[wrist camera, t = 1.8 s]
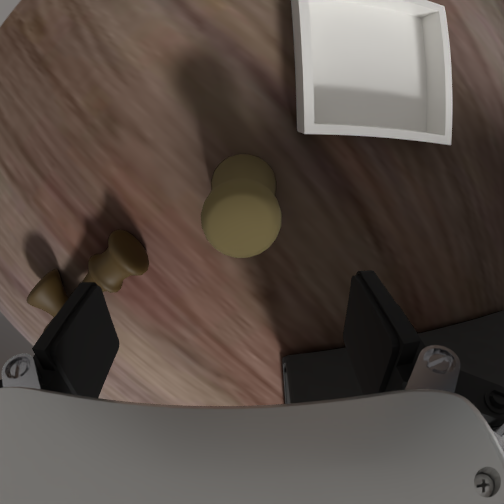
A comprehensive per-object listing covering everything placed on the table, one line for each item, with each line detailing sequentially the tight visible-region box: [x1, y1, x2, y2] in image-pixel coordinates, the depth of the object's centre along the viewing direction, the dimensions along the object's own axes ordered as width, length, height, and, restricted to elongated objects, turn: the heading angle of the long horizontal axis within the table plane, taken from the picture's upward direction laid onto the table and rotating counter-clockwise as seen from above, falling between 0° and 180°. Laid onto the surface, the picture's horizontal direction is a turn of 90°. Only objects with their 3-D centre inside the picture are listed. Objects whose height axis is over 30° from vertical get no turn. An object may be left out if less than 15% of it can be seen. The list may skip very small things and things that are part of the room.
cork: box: [201, 154, 282, 258], centre depth 24 cm, size 6×6×11 cm
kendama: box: [27, 230, 149, 332], centre depth 31 cm, size 6×10×20 cm
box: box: [291, 0, 452, 145], centre depth 21 cm, size 14×14×4 cm
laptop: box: [282, 310, 504, 404], centre depth 30 cm, size 37×27×27 cm
